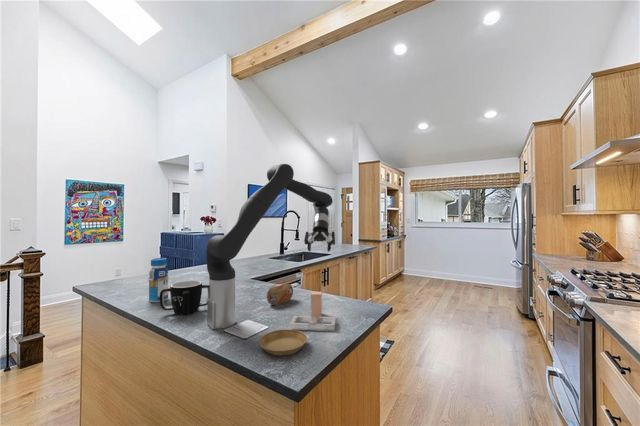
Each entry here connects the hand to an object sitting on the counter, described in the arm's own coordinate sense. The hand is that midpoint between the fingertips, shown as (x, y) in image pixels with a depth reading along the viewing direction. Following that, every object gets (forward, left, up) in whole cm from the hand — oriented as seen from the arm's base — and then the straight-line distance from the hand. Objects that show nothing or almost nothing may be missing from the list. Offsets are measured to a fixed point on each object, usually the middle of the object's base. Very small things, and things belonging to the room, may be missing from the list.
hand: (318, 250), depth 123 cm
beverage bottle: (-54, +57, -25) cm, 83 cm away
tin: (-11, +15, -25) cm, 32 cm away
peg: (-8, -8, -25) cm, 28 cm away
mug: (-48, +30, -25) cm, 62 cm away
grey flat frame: (-16, -16, -25) cm, 34 cm away
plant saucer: (-33, -23, -25) cm, 47 cm away
